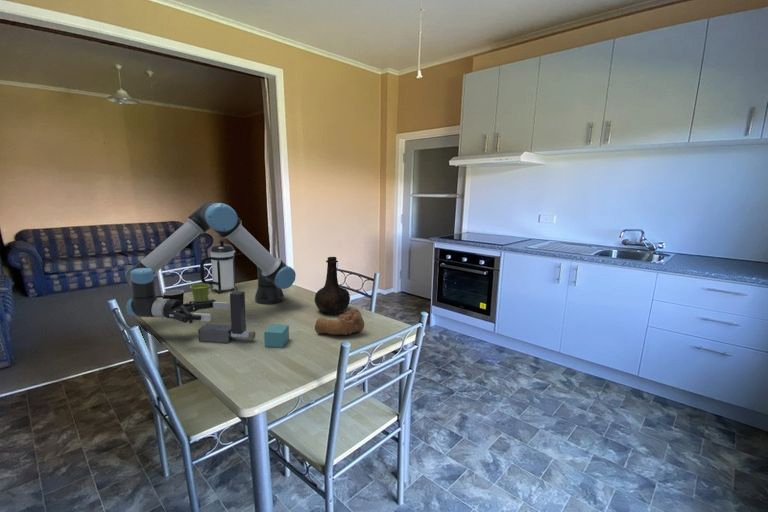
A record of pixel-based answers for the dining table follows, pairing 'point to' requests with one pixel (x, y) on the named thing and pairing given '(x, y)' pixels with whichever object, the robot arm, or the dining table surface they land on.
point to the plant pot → (200, 292)
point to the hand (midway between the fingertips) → (220, 311)
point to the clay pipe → (341, 323)
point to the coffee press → (220, 267)
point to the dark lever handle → (239, 316)
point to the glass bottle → (332, 292)
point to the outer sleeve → (215, 333)
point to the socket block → (276, 335)
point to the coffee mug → (173, 295)
